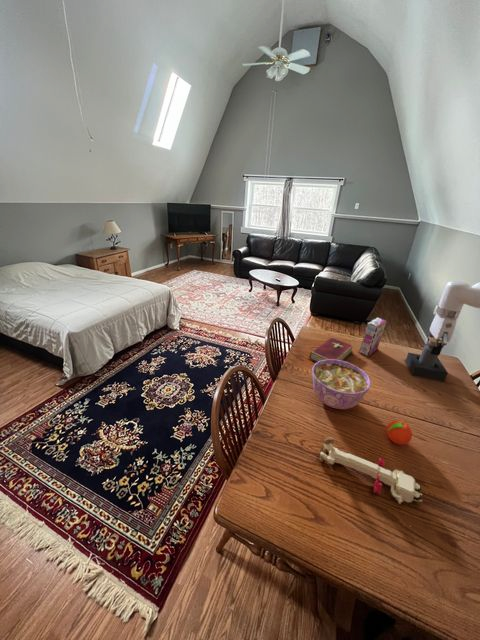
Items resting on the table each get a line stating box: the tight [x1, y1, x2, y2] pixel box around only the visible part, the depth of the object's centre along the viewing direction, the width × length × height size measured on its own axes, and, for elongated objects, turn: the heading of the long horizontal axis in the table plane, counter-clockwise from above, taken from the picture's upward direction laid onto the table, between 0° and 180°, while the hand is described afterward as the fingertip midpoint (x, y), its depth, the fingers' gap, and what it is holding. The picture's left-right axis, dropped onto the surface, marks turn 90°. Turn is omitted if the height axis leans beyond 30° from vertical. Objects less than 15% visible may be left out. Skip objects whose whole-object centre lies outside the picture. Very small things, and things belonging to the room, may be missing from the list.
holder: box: [405, 352, 449, 382], centre depth 119 cm, size 12×12×4 cm
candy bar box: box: [358, 317, 387, 357], centre depth 130 cm, size 11×5×16 cm, turn 133°
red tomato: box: [385, 420, 413, 446], centre depth 83 cm, size 8×7×7 cm
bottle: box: [419, 337, 442, 367], centre depth 117 cm, size 6×6×15 cm
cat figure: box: [318, 436, 423, 505], centre depth 71 cm, size 10×9×25 cm
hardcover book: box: [309, 336, 355, 363], centre depth 127 cm, size 12×21×4 cm, turn 137°
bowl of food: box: [311, 359, 372, 410], centre depth 98 cm, size 20×20×12 cm
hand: (432, 350), depth 116 cm, fingers closed on bottle, 5 cm apart
